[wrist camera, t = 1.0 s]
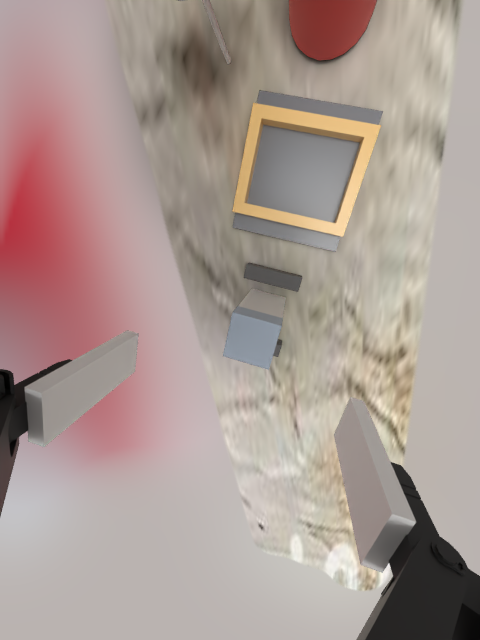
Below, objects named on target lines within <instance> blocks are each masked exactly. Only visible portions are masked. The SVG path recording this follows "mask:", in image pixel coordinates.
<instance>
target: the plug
mask: <svg viewBox="0 0 480 640" xmlns="http://www.w3.org/2000/svg"><path fill="white" fill-rule="evenodd" d="M285 300H286V297H283V296H279V295H275V294H272V293H268V292H264V291H260V290H256V289H251V290H250V291H249V293H248V294H247V295H246V296H245V298H244V299H243V300H242V301H241V303H240V304H239V305H238V306H237V307H236V309H235V310H234V311H233V313H232V317H231V322H230V326H229V331H228V335H227V340H226V344H225V349H224V354H223V356H225V357H228V358H231V359H235V360H238V361H241V362H245V363H248V364H251V365H255V366H258V367H261V368H265V369H268V370H269V367H270V364H271V360H272V357H273V354H274V350H275V347H276V344H277V340H278V337H279V334H280V330H281V327H282V321H283V314H284V307H285Z"/></svg>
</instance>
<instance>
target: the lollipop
mask: <svg viewBox="0 0 480 640" xmlns="http://www.w3.org/2000/svg"><path fill="white" fill-rule="evenodd" d="M178 1H183V0H178ZM202 2H203V4H204V7H205V9H206V12H207V14H208V17H209V19H210V22H211V24H212V27H213V30H214V32H215V35H216V37H217V40H218V42H219V45H220V47H221V50H222V52H223V55H224V57H225V60H226V62H227V64H230V63H231V58H230V55H229V53H228V50H227V47H226V44H225V42H224V39H223V36H222V33H221V31H220V28H219V25H218V22H217V20H216V17H215V14H214V11H213V9H212V6H211V3H210V0H202Z"/></svg>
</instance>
